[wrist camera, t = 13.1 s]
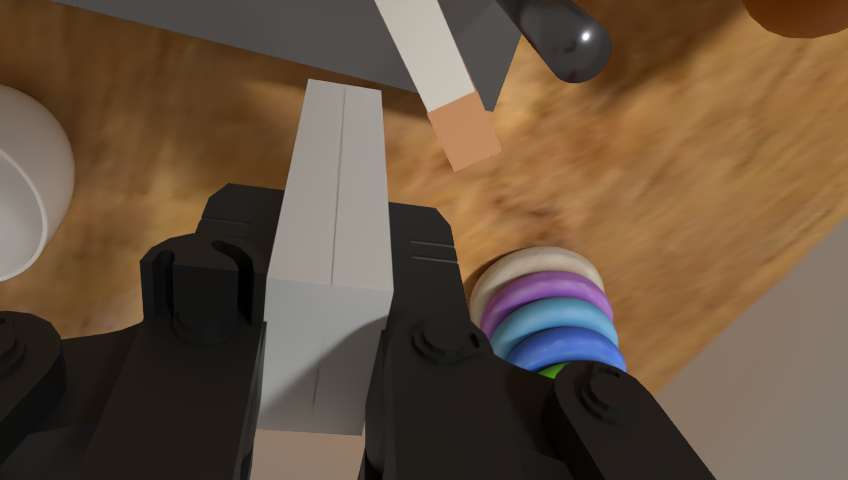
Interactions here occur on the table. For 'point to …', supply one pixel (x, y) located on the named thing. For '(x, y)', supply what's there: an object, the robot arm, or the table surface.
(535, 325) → the stacking toy
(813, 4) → the mug
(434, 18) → the white lever
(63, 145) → the cup
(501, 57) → the base plate
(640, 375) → the table surface
